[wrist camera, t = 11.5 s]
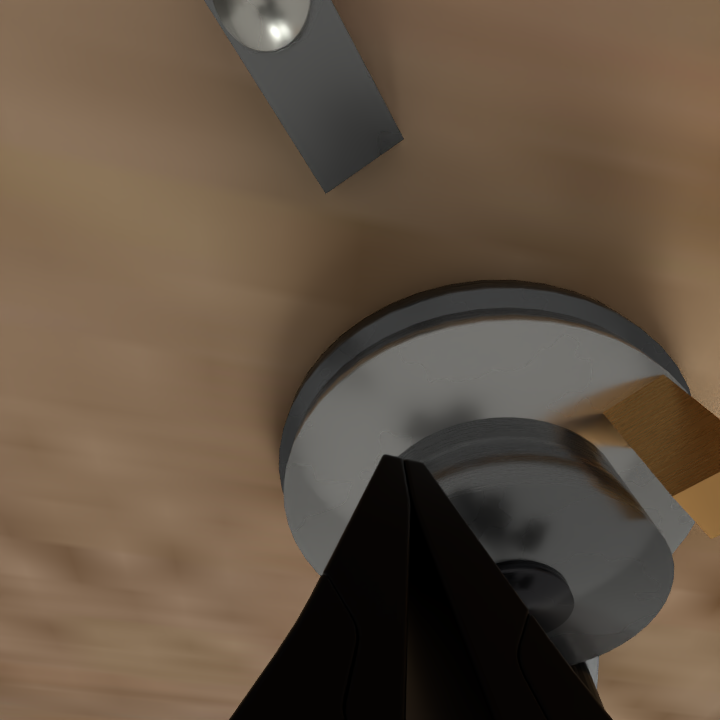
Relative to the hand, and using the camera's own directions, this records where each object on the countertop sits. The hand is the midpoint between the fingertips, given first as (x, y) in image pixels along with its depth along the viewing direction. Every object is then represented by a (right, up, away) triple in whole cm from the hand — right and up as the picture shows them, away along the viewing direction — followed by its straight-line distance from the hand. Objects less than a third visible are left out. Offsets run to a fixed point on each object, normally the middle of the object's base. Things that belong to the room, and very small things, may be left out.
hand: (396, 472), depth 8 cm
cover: (+4, -4, +7) cm, 9 cm away
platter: (+4, -3, +8) cm, 9 cm away
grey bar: (-2, +10, +3) cm, 11 cm away
